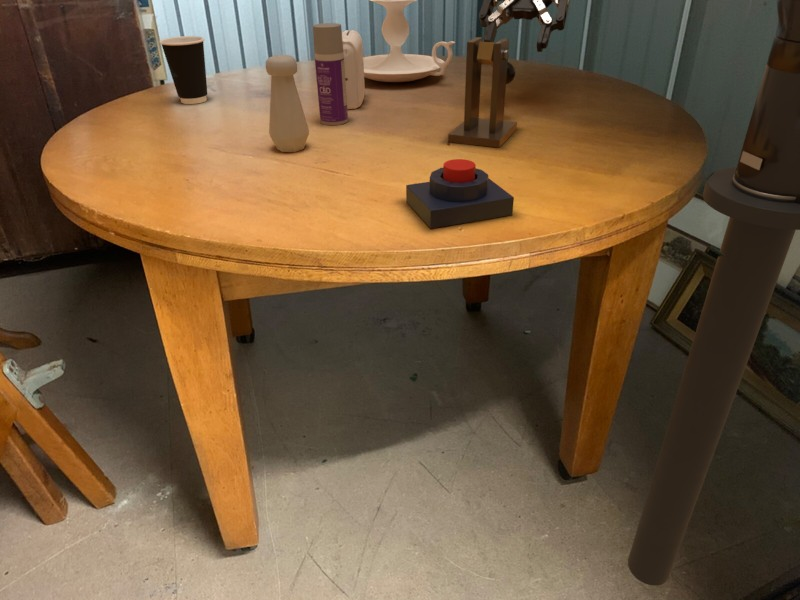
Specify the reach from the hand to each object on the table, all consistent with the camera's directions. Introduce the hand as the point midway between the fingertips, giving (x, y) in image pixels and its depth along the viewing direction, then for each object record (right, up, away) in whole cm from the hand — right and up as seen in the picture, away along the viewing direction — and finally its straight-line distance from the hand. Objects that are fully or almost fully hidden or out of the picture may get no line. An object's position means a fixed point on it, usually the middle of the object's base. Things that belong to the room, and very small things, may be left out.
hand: (513, 47), depth 99 cm
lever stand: (-6, -16, -6) cm, 18 cm away
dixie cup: (-59, -3, +17) cm, 61 cm away
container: (-30, -12, +3) cm, 32 cm away
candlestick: (-18, +5, +28) cm, 34 cm away
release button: (-12, -28, -31) cm, 44 cm away
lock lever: (-4, -7, -6) cm, 11 cm away
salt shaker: (-35, -19, -9) cm, 41 cm away
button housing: (-12, -31, -29) cm, 44 cm away
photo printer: (-28, -5, +13) cm, 31 cm away
